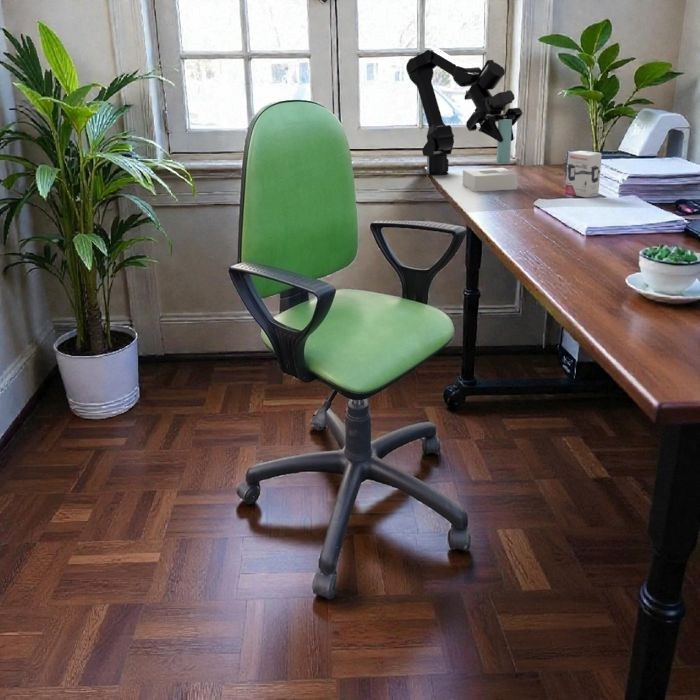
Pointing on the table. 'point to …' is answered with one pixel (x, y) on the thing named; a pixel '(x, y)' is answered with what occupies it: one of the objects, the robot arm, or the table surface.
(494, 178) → the socket block
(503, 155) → the pin
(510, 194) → the table surface
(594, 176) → the ink box
